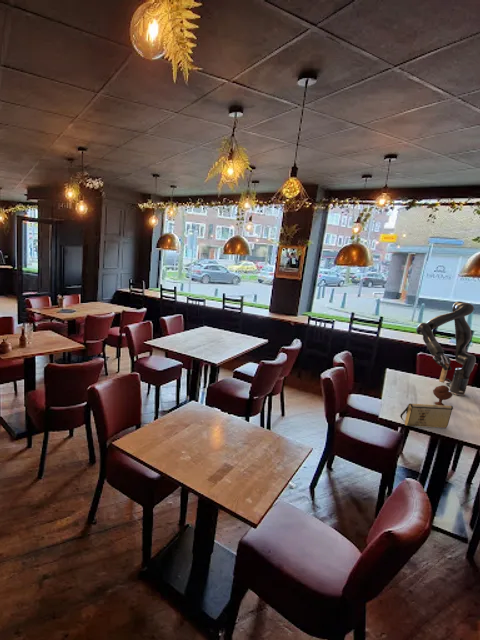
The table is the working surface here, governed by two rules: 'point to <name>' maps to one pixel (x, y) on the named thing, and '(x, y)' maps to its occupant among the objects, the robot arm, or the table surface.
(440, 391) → the ice cream bowl
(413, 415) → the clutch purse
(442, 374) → the stirring stick
